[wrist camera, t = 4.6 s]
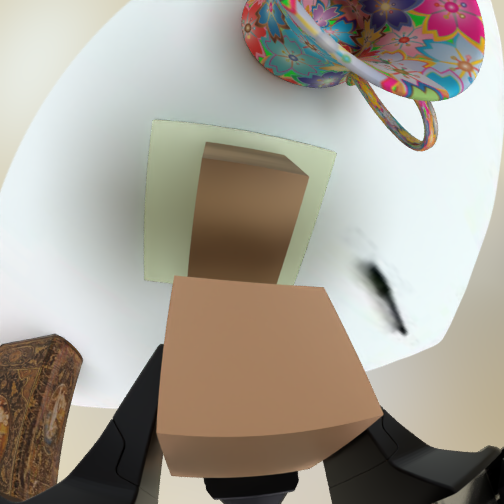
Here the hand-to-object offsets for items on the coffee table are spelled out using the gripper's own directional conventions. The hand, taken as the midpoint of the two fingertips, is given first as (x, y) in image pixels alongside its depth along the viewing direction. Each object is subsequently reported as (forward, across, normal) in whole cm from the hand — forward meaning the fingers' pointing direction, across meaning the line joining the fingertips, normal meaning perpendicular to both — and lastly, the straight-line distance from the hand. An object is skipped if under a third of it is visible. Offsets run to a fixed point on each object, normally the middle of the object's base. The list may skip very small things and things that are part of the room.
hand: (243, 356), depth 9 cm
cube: (+1, 0, 0) cm, 1 cm away
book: (+12, +23, +22) cm, 34 cm away
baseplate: (+12, 0, 0) cm, 12 cm away
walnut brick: (+11, 0, 0) cm, 11 cm away
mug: (+12, -3, -13) cm, 18 cm away
